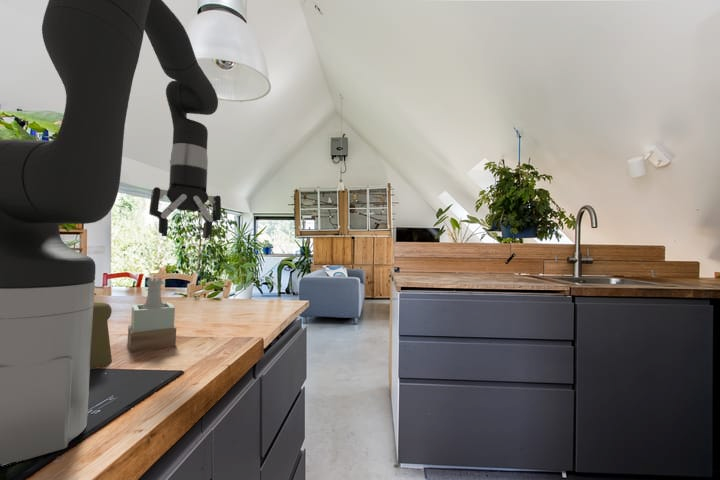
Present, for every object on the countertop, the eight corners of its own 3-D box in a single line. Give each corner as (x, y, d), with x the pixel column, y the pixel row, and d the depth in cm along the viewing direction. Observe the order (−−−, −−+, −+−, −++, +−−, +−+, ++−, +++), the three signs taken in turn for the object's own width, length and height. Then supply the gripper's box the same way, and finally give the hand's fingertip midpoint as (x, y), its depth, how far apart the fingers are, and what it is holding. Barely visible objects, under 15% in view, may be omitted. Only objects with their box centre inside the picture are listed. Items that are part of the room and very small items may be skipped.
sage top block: (173, 327, 68) (175, 307, 68) (133, 332, 63) (134, 310, 63) (168, 321, 73) (169, 302, 73) (131, 325, 69) (132, 305, 69)
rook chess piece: (161, 315, 67) (163, 278, 68) (137, 316, 65) (139, 278, 66) (167, 312, 71) (169, 277, 72) (145, 313, 70) (147, 278, 70)
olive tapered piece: (57, 371, 52) (61, 306, 53) (83, 359, 58) (87, 300, 59) (97, 370, 53) (101, 306, 54) (119, 358, 59) (122, 300, 60)
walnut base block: (175, 346, 68) (176, 328, 68) (130, 353, 62) (131, 333, 63) (169, 337, 74) (170, 321, 74) (127, 343, 69) (128, 325, 69)
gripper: (155, 157, 64) (151, 235, 63) (226, 170, 73) (223, 238, 73) (149, 164, 70) (146, 235, 69) (216, 175, 79) (213, 238, 79)
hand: (186, 237), depth 71 cm, fingers open, 8 cm apart
